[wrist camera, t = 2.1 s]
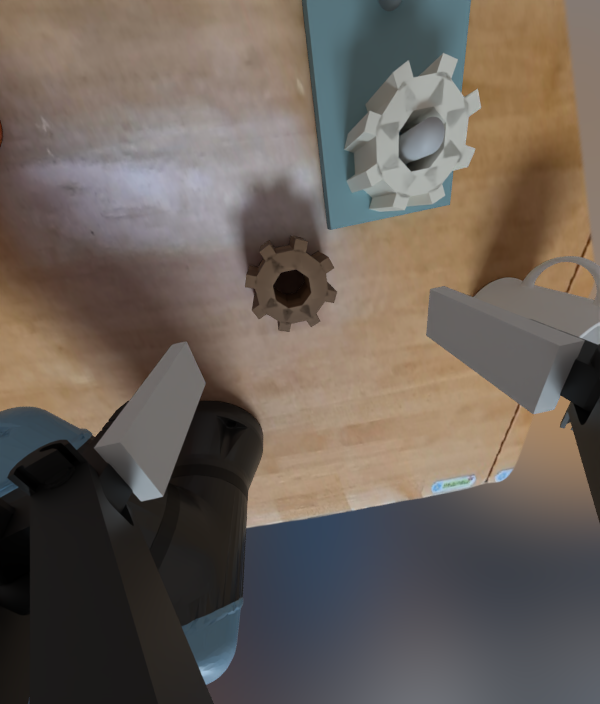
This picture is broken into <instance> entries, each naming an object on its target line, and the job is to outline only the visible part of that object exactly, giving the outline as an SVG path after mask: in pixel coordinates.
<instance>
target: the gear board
mask: <svg viewBox="0 0 600 704" xmlns="http://www.w3.org/2000/svg"><path fill="white" fill-rule="evenodd" d="M470 3H471V0H302V6H303V14H304V23H305V32H306V41H307V50H308V59H309V68H310V76H311V85H312V94H313V103H314V112H315V121H316V130H317V138H318V147H319V156H320V165H321V174H322V183H323V192H324V200H325V209H326V218H327V227H328V229H330V230H332V229H337V228H341V227H346V226H351V225H356V224H360V223H365V222H370V221H375V220H379V219H384V218H389V217H394V216H398V215H403V214H408V213H412V212H417V211H422V210H427V209H431V208H436V207H441V206H446V205H450V198H451V189H452V179H453V171H452V172H451V173H450V174H449V176H448V177H447V178H446V179H445V181H444V182H443V183H442V185H443V189H444V192H445V196H444V197H442V198H441V199H440V200H438V201H437V202H435V203H434V204H431V205H419V206H408V207H406V209H405V210H399V211H383V212H379V211H375V210H371V209H369V208H370V204H371V201H372V197H371V196H370V195H369V194H367V193H366V192H365V191H364V190H360V191H357V192H353V193H352V192H351V190H350V188H349V186H348V183H347V180H348V179H349V178H351V177H352V176H353V175H355V164H354V153H353V152H350V151H347V150H344V148H345V144H346V140H347V135H348V133H349V132H350V131H351V130H352V129H353V128H354V127H355V126H356V125H357V123H358V122H359V121H360V120H361V119H362V118H363V117H364V116H365V115H366V114H367V113H368V111H367V108H366V105H365V104H366V103H367V102H368V101H369V100H370V98H371V97H372V96H373V95H374V94H375V93H376V92H377V90H378V89H379V88H380V87H381V86H382V85H383V83H384V82H385V81H386V80H387V79H388V78H389V76H390V75H391V74H392V73H393V72H394V71H395V70H397V69H398V68H399V67H400V66H402V65H403V64H404V63H405V62H407V61H408V60H409V63H410V66H411V70H412V74H413V77H418V76H419V75H420V74H421V73H422V72H424V71H425V70H426V69H427V68H428V67H429V66H430V65H431V64H432V63H433V62H434V61H435V60H436V59H437V58H438V57H440V56H441V55H442V54H443V53H445V54H447V55H449V56H451V57H454V58H456V59H458V61H457V64H456V67H455V70H454V72H453V75H452V78H451V79H452V81H453V82H454V83H455V85H456V86H457V88H458V89H459V91H460V92H461V91H462V81H463V72H464V62H465V52H466V42H467V33H468V23H469V13H470ZM444 134H445V130H444V125H443V122H442V121H441V120H440V119H439V118H438V117H429V118H427V119H425V120H424V121H422V122H421V123H419V124H417V125H416V126H414V127H413V128H411V129H409V130H408V131H406V132H405V133H403V134H402V133H401V132H400V131H399V156H398V158H399V159H400V160H401V161H402V162H403V163H404V164H405V165H406V166H407V164H408V163H410V162H413V161H415V160H418V159H420V158H423V157H425V156H428V155H431V154H433V153H434V152H436V151H437V150H438V149H439V147H440V146H441V144H442V142H443V139H444Z"/></svg>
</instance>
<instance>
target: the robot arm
mask: <svg viewBox="0 0 600 704" xmlns="http://www.w3.org/2000/svg"><path fill="white" fill-rule="evenodd" d="M426 335H427V336H428V337H429V338H431V339H432V340H433V341H435V342H436V343H437V344H439V345H440V346H441V347H443V348H444V349H446V350H447V351H448V352H450V353H451V354H452V355H454V356H455V357H456V358H458V359H459V360H460V361H462V362H463V363H465V364H466V365H467V366H469V367H470V368H471V369H473V370H474V371H475V372H477V373H478V374H479V375H481V376H482V377H483V378H485V379H486V380H488V381H489V382H490V383H492V384H493V385H494V386H496V387H497V388H498V389H500V390H501V391H502V392H504V393H505V394H506V395H508V396H509V397H511V398H512V399H513V400H515V401H516V402H517V403H519V404H520V405H521V406H523V407H524V408H525V409H527V410H528V411H530V412H531V413H532V414H536V413H541V412H545V411H550V410H554V409H555V407H556V405H557V402H558V400H559V398H560V396H563V397H564V398H566V399H568V400H569V401H571V402H570V405H569V407H568V409H567V411H566V413H565V415H564V417H563V419H562V421H561V424H560V427H561V428H565V426H566V424H567V423H569V422H571V425H572V428H571V430H573V432H574V435H575V439H576V442H577V446H578V449H579V453H580V456H581V460H582V463H583V467H584V470H585V474H586V477H587V480H588V484H589V488H590V491H591V495H592V498H593V501H594V505H595V508H596V512H597V515H598V518H599V522H600V344H599V345H598V344H595V343H592V342H590V341H587V340H585V339H582V338H579V337H577V336H574V335H572V334H569V333H566V332H564V331H561V330H557V329H556V328H553V327H551V326H546V325H545V324H543V323H540V322H538V321H535V320H532V319H528V318H525V317H523V316H520V315H518V314H515V313H512V312H510V311H507V310H505V309H502V308H500V307H497V306H494V305H492V304H489V303H487V302H484V301H481V300H479V299H476V298H474V297H471V296H468V295H466V294H463V293H461V292H458V291H455V290H453V289H450V288H448V287H445V286H442V287H438V288H433V289H430V296H429V308H428V321H427V333H426ZM205 384H206V382H205V380H204V378H203V376H202V374H201V372H200V369H199V367H198V365H197V363H196V361H195V359H194V356H193V354H192V352H191V350H190V348H189V346H188V343H187V341H186V342H181V343H176V344H172V345H171V347H170V348H169V349H168V351H167V352H166V353H165V354H164V356H163V357H162V358H161V360H160V361H159V362H158V364H157V365H156V366H155V368H154V369H153V370H152V372H151V373H150V374H149V376H148V377H147V378H146V380H145V381H144V382H143V384H142V385H141V386H140V388H139V389H138V390H137V392H136V393H135V394H134V396H133V397H132V398H131V399H130V401H127V402H126V403H125V404H124V405H122V406H121V407H120V408H119V409H118V410H116V412H115V413H114V414H113V415H112V417H111V418H110V419H109V420H108V421H109V422H107V423H106V424H105V426H104V427H103V428H102V431H100V432H99V433H98V434H97V436H96V437H94V436H92V433H91V432H90V431H88V430H87V429H80V428H78V427H76V426H74V425H72V424H70V423H68V422H66V421H65V420H63V419H61V418H59V417H57V416H55V415H53V414H52V413H50V412H48V411H46V410H43V409H40V408H36V407H16V408H11V409H7V410H4V411H1V412H0V704H28V701H29V696H30V704H214V703H213V701H212V698H211V696H210V693H209V691H208V688H207V686H206V684H208V683H210V682H212V681H214V680H216V679H217V678H218V677H220V676H221V675H222V674H223V673H224V672H225V670H226V669H227V667H228V666H229V664H230V662H231V660H232V658H233V656H234V654H235V650H236V645H237V636H238V627H239V617H240V609H241V607H242V605H243V578H244V559H245V540H246V521H247V501H248V490H249V487H250V485H251V482H252V480H253V477H254V475H255V472H256V470H257V468H258V465H259V463H260V460H261V457H262V453H263V433H262V429H261V427H260V425H259V423H258V422H257V421H256V419H255V418H254V417H253V416H252V415H250V414H249V413H248V412H246V411H245V410H243V409H241V408H239V407H237V406H234V405H231V404H228V403H224V402H217V401H200V402H199V400H200V397H201V395H202V392H203V389H204V387H205Z"/></svg>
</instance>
